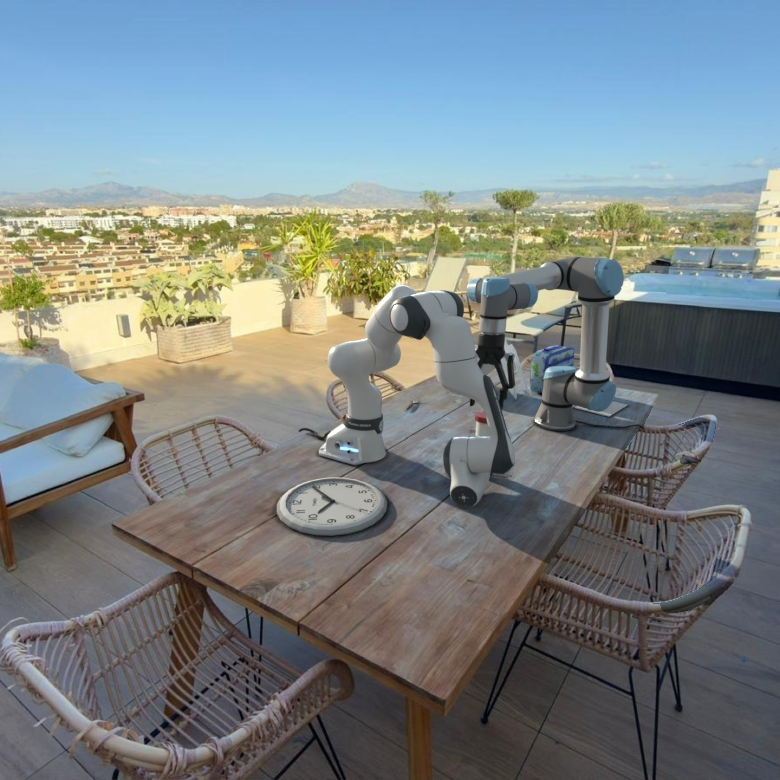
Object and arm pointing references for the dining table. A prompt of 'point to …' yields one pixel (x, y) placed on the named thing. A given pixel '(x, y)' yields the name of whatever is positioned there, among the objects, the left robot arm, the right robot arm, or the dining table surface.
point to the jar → (482, 429)
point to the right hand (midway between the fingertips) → (486, 407)
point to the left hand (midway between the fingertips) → (483, 453)
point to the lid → (481, 417)
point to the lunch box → (548, 363)
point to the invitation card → (609, 411)
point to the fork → (413, 402)
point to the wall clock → (331, 506)
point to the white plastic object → (489, 368)
